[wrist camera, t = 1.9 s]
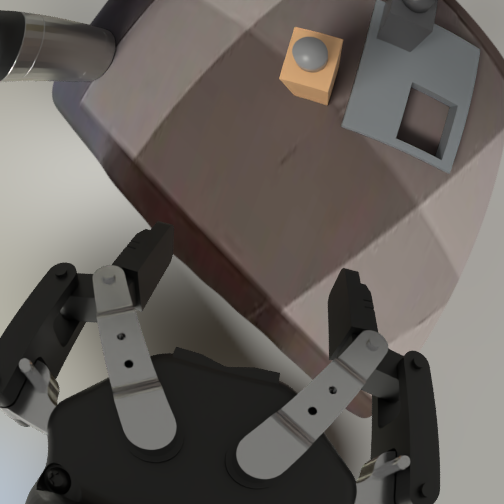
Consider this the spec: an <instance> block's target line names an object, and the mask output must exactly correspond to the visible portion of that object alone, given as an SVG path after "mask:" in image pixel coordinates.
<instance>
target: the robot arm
mask: <svg viewBox="0 0 504 504" xmlns="http://www.w3.org/2000/svg"><path fill="white" fill-rule="evenodd" d="M114 53H115V38H114V36H113V34H112V33H111V32H110V31H108V30H106V29H102V28H99V27H95V26H91V25H88V24H84V23H80V22H75V21H71V20H66V19H61V18H56V17H51V16H46V15H40V14H32V13H25V12H16V11H1V10H0V82H9V81H10V82H11V81H67V82H77V81H80V82H91V81H94V80H96V79H98V78H99V77H100V76H102V75H103V73H104V72H105V71H106V70H107V68H108V67H109V65H110V63H111V62H112V59H113V56H114ZM173 239H174V226H173V225H171V224H167V223H163V222H159V221H158V222H157V223H156V224H155V225H154V226H153V228H152V229H151V230H147V229H145V230H143V231H141V232H139V233H137V234H136V235H135V237H134V238H133V239H132V240H131V242H130V243H129V244H128V245H127V247H126V248H125V249H124V250H123V252H121V254H120V255H119V256H118V257H117V259H116V260H115V261H114V263H113V264H112V265H107V266H103V267H101V268H99V269H97V270H96V271H95V273H94V274H79V273H77V271H76V268H75V266H73V265H72V264H70V263H60V264H57V265H55V266H53V267H52V268H51V269H50V270H49V271H48V272H47V274H46V275H45V276H44V277H43V279H42V280H41V281H40V282H39V284H38V285H37V286H36V288H35V289H34V290H33V292H32V293H31V294H30V296H29V297H28V298H27V300H26V301H25V302H24V304H23V305H22V306H21V308H20V309H19V311H18V312H17V314H16V315H15V316H14V318H13V319H12V321H11V323H10V324H9V325H8V327H7V328H6V330H5V331H4V333H3V335H2V336H1V338H0V410H1V411H3V412H4V413H5V414H6V415H7V416H8V417H10V418H12V419H13V420H15V421H16V422H17V423H18V424H20V425H21V426H24V427H28V426H31V427H33V428H35V429H36V430H38V431H40V432H42V433H44V434H46V435H47V436H48V458H47V463H46V467H45V469H44V471H43V473H42V474H41V476H40V477H39V479H38V480H37V482H36V483H35V485H34V486H33V488H32V489H31V491H30V493H29V495H28V497H27V500H26V503H25V504H433V503H434V502H435V501H436V500H437V498H438V496H439V492H440V457H439V440H438V427H437V416H436V408H435V399H434V392H433V385H432V379H431V373H430V367H429V363H428V361H427V359H426V358H425V357H424V356H423V355H422V354H421V353H419V352H417V351H409V352H407V353H406V354H405V355H404V356H402V355H400V354H398V353H396V352H394V351H392V350H390V349H389V348H388V344H387V341H386V340H385V338H384V337H383V336H382V335H381V334H379V333H378V329H377V323H376V317H375V312H374V310H373V309H374V306H373V303H372V302H373V301H372V296H371V292H370V291H369V289H368V288H367V286H366V285H365V284H361V283H360V277H359V273H358V272H357V271H353V270H349V269H345V268H343V269H342V270H341V271H340V273H339V275H338V277H337V280H336V282H335V284H334V286H333V288H332V290H331V292H330V295H329V299H328V324H329V360H333V361H332V362H331V363H330V364H329V365H328V366H327V367H326V368H325V369H324V370H323V371H322V372H321V373H320V374H319V375H318V376H317V377H316V378H315V379H314V380H313V381H311V382H310V383H309V384H308V385H307V386H306V387H305V388H304V389H303V390H302V391H301V392H300V393H299V394H298V393H297V392H296V391H294V390H293V389H292V388H291V387H289V386H288V385H286V384H285V383H283V382H281V381H279V376H280V373H277V372H272V371H268V370H263V369H258V368H249V367H248V368H247V367H226V366H223V365H221V364H219V363H217V362H215V361H213V360H212V359H210V358H208V357H206V356H204V355H202V354H199V353H196V352H192V351H189V350H185V349H182V348H179V347H176V349H175V351H174V353H173V354H171V353H168V354H157V355H153V356H150V355H149V352H148V349H147V346H146V343H145V340H144V337H143V334H142V330H141V327H140V324H139V321H138V317H137V314H136V311H135V310H138V311H143V309H144V307H145V305H146V304H147V302H148V300H149V298H150V297H151V295H152V293H153V291H154V289H155V288H156V286H157V284H158V283H159V281H160V279H161V277H162V276H163V274H164V272H165V271H166V269H167V267H168V266H169V264H170V262H171V259H172V255H173ZM86 322H97V323H98V328H99V333H100V339H101V344H102V348H103V353H104V358H105V362H106V367H107V370H108V375H109V378H107V379H105V380H103V381H101V382H99V383H97V384H95V385H93V386H91V387H89V388H87V389H85V390H83V391H81V392H79V393H77V394H75V395H73V396H71V397H69V398H67V399H65V400H63V401H61V402H60V403H59V404H57V400H58V395H59V385H58V382H57V381H56V378H57V376H58V374H59V372H60V370H61V368H62V366H63V364H64V362H65V360H66V358H67V356H68V354H69V352H70V350H71V348H72V346H73V345H74V343H75V341H76V339H77V337H78V336H79V334H80V332H81V330H82V328H83V327H84V325H85V323H86ZM360 390H363V391H365V392H367V393H370V394H372V442H371V460H369V461H367V462H366V463H365V464H364V465H363V466H362V468H361V471H360V474H359V477H358V479H357V481H355V478H354V476H353V474H352V473H351V471H350V470H349V468H348V467H347V465H346V464H345V462H344V461H343V460H342V458H341V457H340V455H339V454H338V452H337V451H336V449H335V448H334V446H333V445H332V443H331V442H330V441H329V439H328V438H327V436H326V434H325V433H324V431H325V430H326V429H327V428H328V427H329V426H330V425H331V423H332V422H333V421H334V420H335V419H336V418H337V417H338V416H339V414H340V413H341V412H342V411H343V410H344V409H345V408H346V406H347V405H348V404H349V403H350V402H351V401H352V399H353V398H354V397H355V396H356V395H357V393H358V392H359V391H360Z"/></svg>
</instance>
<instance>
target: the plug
mask: <svg viewBox="0 0 504 504" xmlns="http://www.w3.org/2000/svg"><path fill="white" fill-rule="evenodd" d="M342 44H343V39H340V38H336V37H333V36H329V35H326V34H322V33H318V32H314V31H310V30H306V29H302V28H297V27H295V28H294V31H293V34H292V38H291V41H290V44H289V48H288V51H287V54H286V58H285V61H284V64H283V68H282V71H281V74H280V78H279V79H280V80H281V81H282V82H283V83H284V84H285V86H286V87H287V88H288V89H289V90H290V91H291V92H292V93H293V95H295V96H298V97H302V98H305V99H309V100H312V101H315V102H318V103H322V104H325V105H328V103H329V99H330V96H331V93H332V89H333V86H334V82H335V79H336V76H337V72H338V69H339V63H340V57H341V51H342Z"/></svg>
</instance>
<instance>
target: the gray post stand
mask: <svg viewBox="0 0 504 504" xmlns="http://www.w3.org/2000/svg"><path fill="white" fill-rule="evenodd" d="M437 1H438V0H387V1H386V2H383V1H380V0H376V3H375V6H374V9H373V13H372V17H371V21H370V25H369V29H368V33H367V37H366V41H365V44H364V48H363V52H362V55H361V59H360V63H359V66H358V70H357V73H356V77H355V80H354V84H353V87H352V91H351V94H350V97H349V101H348V104H347V107H346V111H345V114H344V117H343V121H342V124H341V127H342V128H345V129H348V130H351V131H353V132H356V133H359V134H361V135H364V136H366V137H369V138H371V139H374V140H376V141H379V142H381V143H384V144H386V145H388V146H391V147H393V148H395V149H398V150H400V151H402V152H404V153H407V154H409V155H411V156H413V157H415V158H417V159H419V160H421V161H423V162H426V163H428V164H430V165H432V166H434V167H436V168H438V169H439V170H441V171H444V172H446V173H449V174H450V171H451V168H452V165H453V162H454V159H455V156H456V153H457V150H458V146H459V143H460V140H461V136H462V133H463V129H464V126H465V122H466V118H467V115H468V111H469V107H470V102H471V98H472V93H473V89H474V84H475V79H476V74H477V68H478V62H479V56H480V49H478V48H477V47H475V46H474V45H472V44H470V43H469V42H467V41H465V40H464V39H462V38H460V37H459V36H457V35H455V34H453V33H451V32H450V31H448V30H446V29H444V28H442V27H440V26H438V25H436V24H434V21H435V15H436V8H437ZM411 87H412V88H414V89H416V90H418V91H420V92H422V93H424V94H426V95H428V96H430V97H432V98H434V99H436V100H438V101H440V102H442V103H444V104H445V105H447V106H449V107H450V108H449V112H448V116H447V119H446V123H445V127H444V130H443V133H442V137H441V140H440V143H439V146H438V149H437V152H436V155H435V157H434V156H432V155H430V154H428V153H426V152H424V151H422V150H420V149H418V148H416V147H414V146H412V145H410V144H408V143H405V142H403V141H401V140H399V139H396V136H397V133H398V130H399V127H400V123H401V120H402V117H403V113H404V110H405V107H406V103H407V99H408V96H409V92H410V89H411Z"/></svg>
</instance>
